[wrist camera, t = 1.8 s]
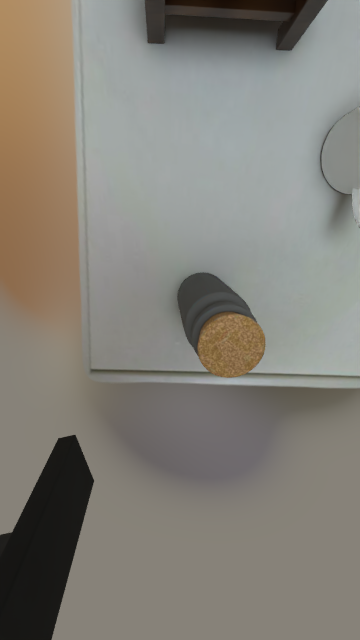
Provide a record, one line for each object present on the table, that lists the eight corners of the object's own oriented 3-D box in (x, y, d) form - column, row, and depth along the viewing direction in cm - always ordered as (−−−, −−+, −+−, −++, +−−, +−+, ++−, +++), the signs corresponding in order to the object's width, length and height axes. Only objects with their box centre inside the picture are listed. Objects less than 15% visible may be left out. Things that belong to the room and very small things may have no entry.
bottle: (194, 328, 34) (217, 399, 20) (167, 289, 32) (172, 337, 18) (234, 302, 33) (288, 357, 19) (209, 262, 32) (249, 288, 18)
